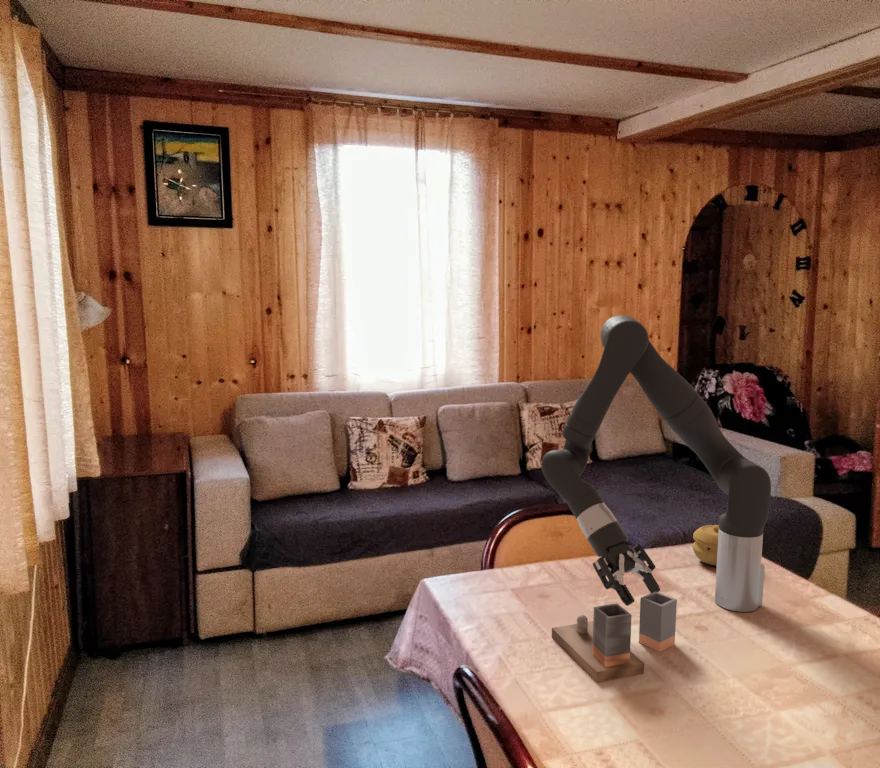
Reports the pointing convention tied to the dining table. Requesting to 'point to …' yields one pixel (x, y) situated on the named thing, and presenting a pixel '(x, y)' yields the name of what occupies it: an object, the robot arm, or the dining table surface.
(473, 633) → the dining table surface
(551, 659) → the dining table surface
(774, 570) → the dining table surface
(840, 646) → the dining table surface
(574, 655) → the pin board
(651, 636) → the sleeve
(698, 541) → the pot
